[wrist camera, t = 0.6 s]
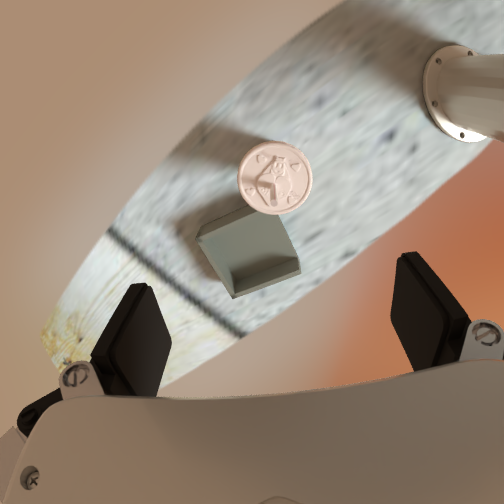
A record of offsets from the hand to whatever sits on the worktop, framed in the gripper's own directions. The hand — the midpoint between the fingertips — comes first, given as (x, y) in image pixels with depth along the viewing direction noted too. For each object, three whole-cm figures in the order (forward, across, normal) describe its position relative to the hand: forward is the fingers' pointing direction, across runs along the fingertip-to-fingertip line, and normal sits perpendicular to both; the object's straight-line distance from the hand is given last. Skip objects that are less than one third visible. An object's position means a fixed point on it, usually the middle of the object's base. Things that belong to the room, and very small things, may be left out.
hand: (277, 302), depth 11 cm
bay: (+26, +3, +10) cm, 28 cm away
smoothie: (+26, -1, 0) cm, 26 cm away
